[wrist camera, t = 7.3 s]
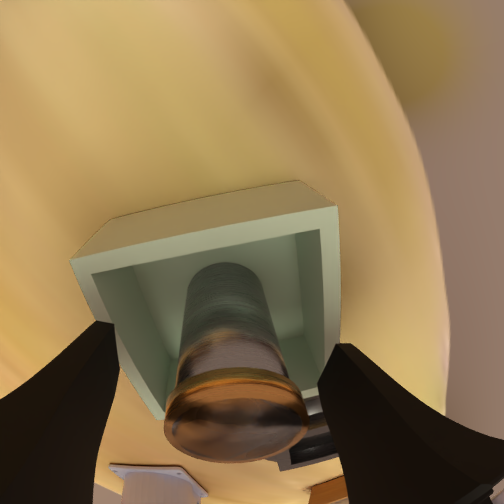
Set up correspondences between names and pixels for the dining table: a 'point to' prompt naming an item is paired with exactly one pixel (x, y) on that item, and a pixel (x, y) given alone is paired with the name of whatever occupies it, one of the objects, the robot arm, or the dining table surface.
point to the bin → (210, 252)
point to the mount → (309, 441)
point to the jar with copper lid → (231, 374)
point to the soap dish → (330, 492)
